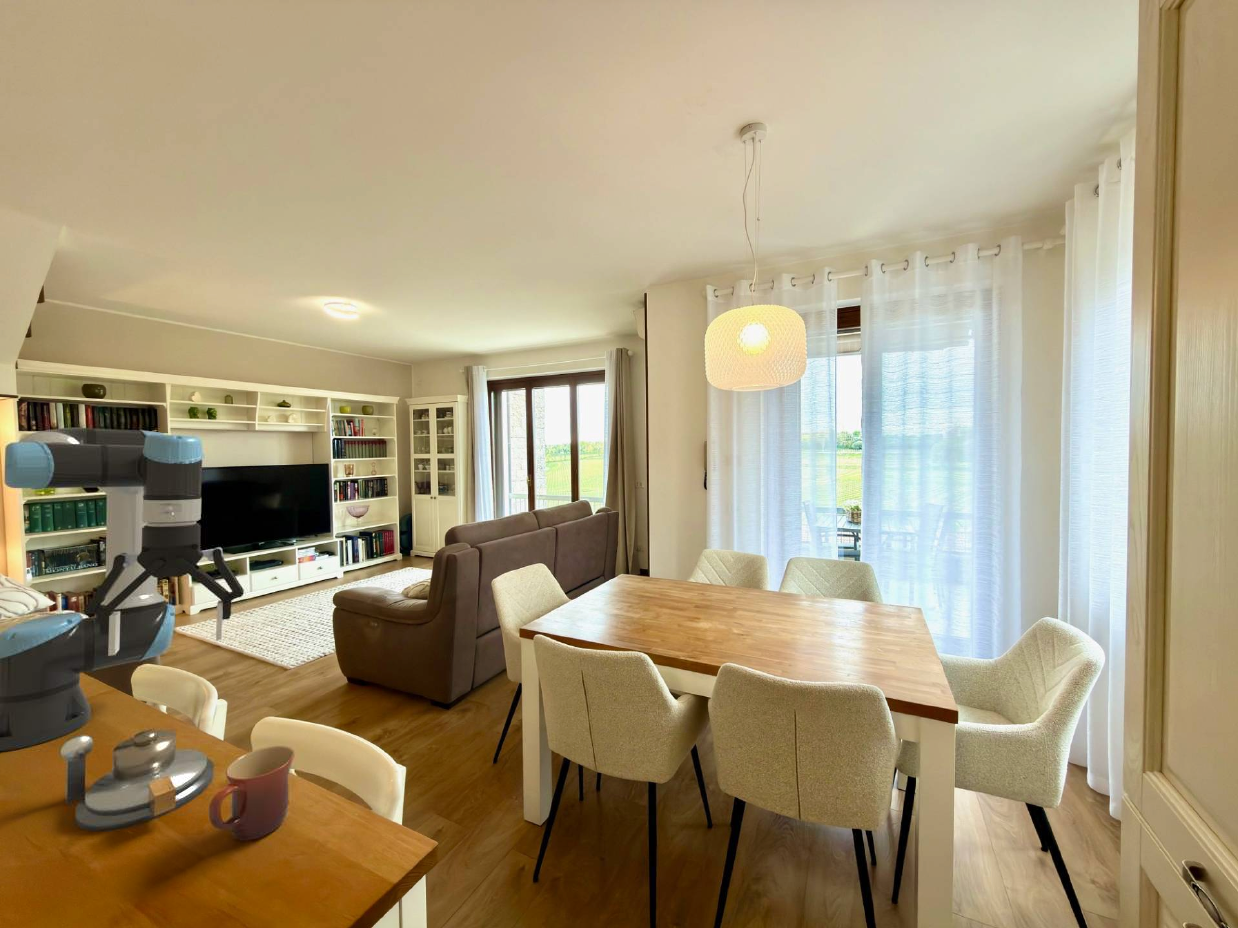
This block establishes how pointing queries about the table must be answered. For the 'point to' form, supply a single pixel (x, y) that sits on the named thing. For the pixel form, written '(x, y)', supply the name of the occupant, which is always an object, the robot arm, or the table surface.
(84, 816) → the turntable base
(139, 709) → the table surface
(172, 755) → the cover
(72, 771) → the dial stand
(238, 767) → the mug
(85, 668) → the robot arm
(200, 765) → the turntable
